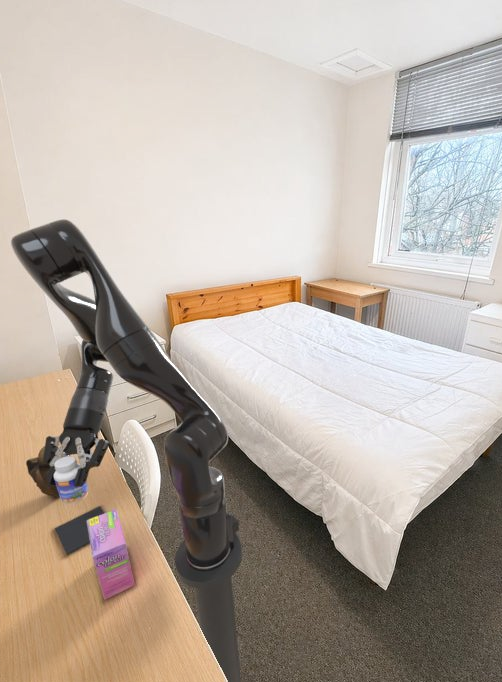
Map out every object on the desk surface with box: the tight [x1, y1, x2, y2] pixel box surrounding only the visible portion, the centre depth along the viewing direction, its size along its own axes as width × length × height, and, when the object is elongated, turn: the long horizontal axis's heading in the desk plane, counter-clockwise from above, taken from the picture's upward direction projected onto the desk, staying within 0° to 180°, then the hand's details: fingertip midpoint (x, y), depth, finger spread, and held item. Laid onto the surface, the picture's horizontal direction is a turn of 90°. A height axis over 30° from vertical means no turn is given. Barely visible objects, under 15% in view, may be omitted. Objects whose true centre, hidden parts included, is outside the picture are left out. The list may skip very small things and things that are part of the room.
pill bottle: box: [54, 455, 89, 505], centre depth 78 cm, size 5×5×10 cm
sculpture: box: [25, 445, 60, 498], centre depth 91 cm, size 11×11×15 cm
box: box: [87, 509, 135, 600], centre depth 71 cm, size 10×6×12 cm, turn 34°
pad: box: [54, 506, 106, 556], centre depth 83 cm, size 10×10×1 cm
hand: (64, 485), depth 76 cm, fingers closed on pill bottle, 5 cm apart
